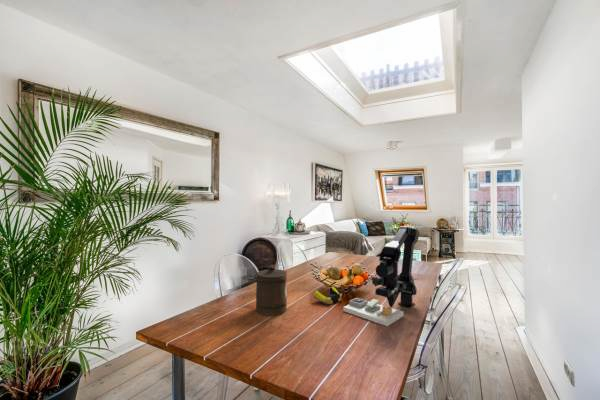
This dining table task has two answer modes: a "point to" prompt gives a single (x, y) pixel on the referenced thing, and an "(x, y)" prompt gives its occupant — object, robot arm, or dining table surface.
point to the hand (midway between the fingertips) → (391, 306)
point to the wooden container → (271, 291)
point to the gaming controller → (329, 296)
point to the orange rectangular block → (386, 310)
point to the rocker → (372, 303)
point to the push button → (358, 300)
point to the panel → (372, 312)
